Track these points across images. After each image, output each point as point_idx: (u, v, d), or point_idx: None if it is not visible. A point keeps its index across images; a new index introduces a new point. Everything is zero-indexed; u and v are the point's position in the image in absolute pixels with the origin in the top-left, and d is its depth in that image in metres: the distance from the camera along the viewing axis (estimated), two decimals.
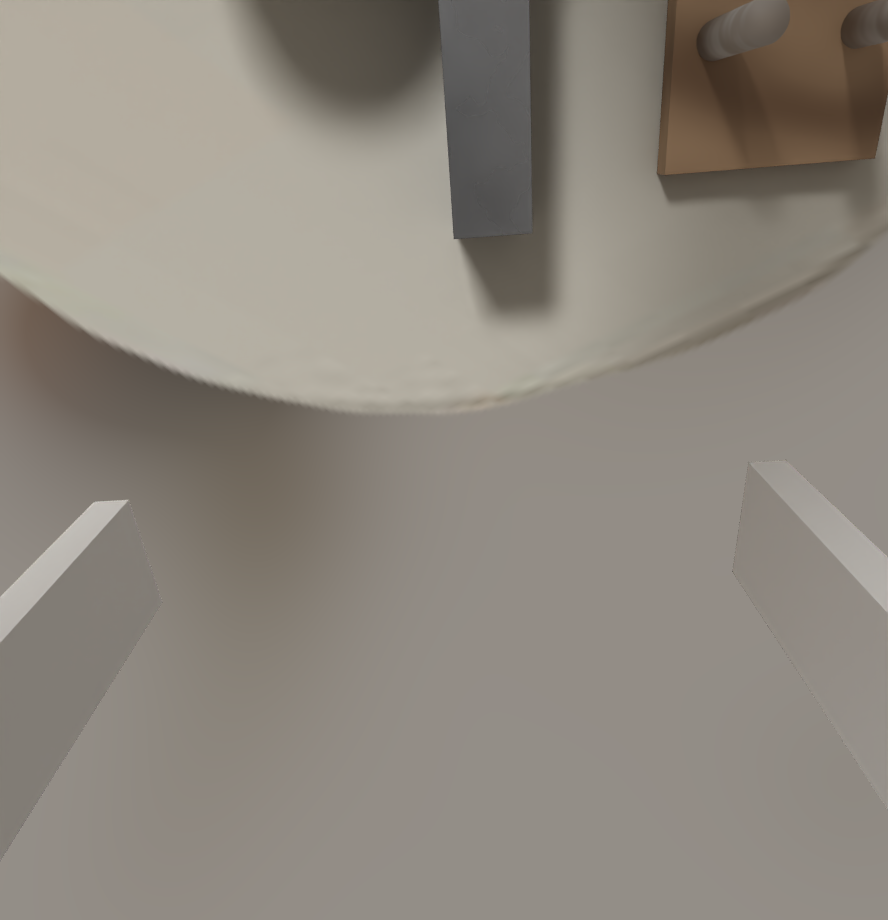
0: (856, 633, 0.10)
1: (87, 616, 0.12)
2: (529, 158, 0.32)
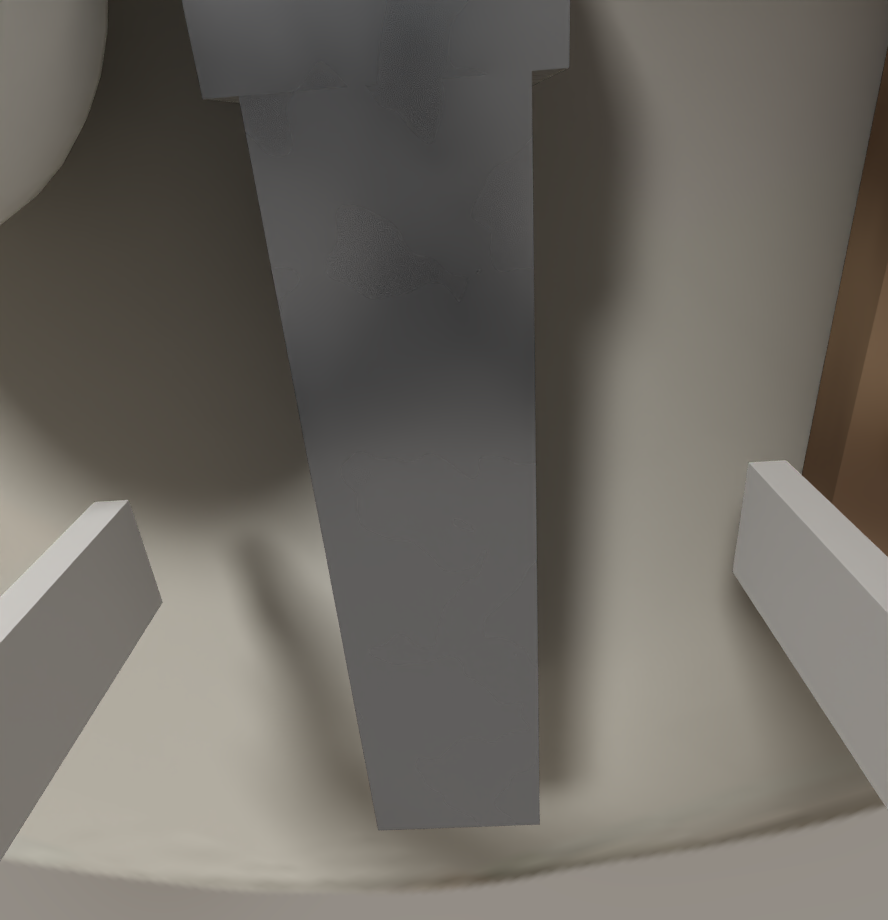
0: (856, 633, 0.10)
1: (87, 616, 0.12)
2: (534, 726, 0.14)
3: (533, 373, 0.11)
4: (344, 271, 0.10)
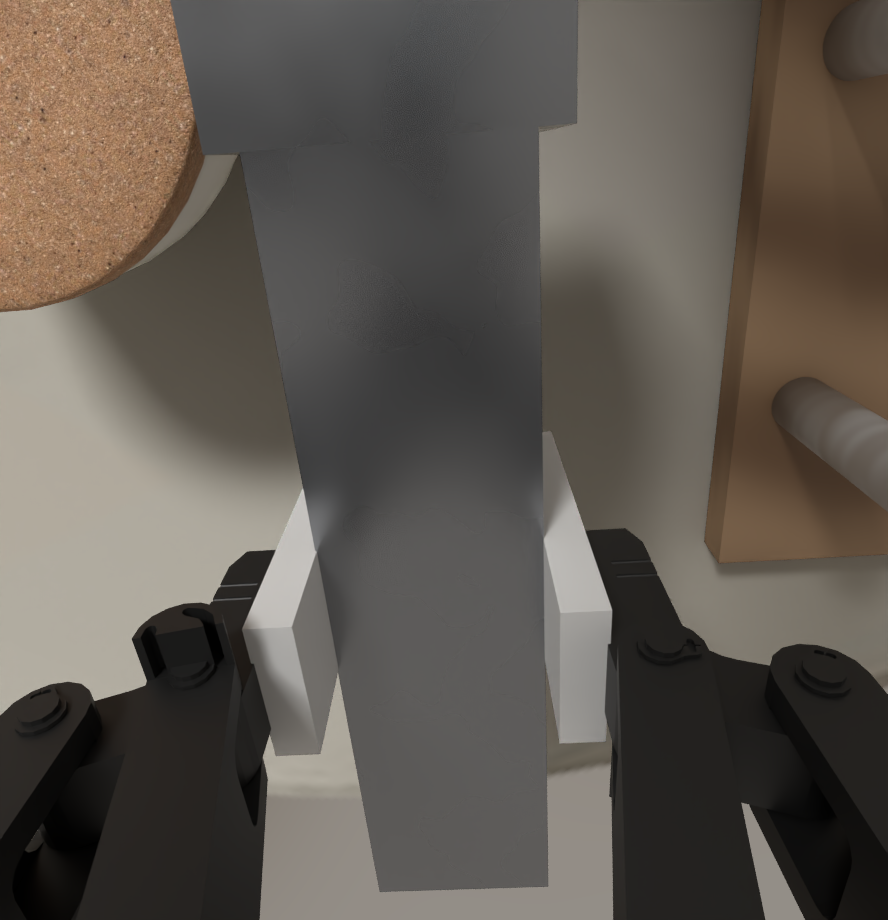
0: None
1: None
2: (542, 785, 0.14)
3: (540, 427, 0.10)
4: (346, 326, 0.10)
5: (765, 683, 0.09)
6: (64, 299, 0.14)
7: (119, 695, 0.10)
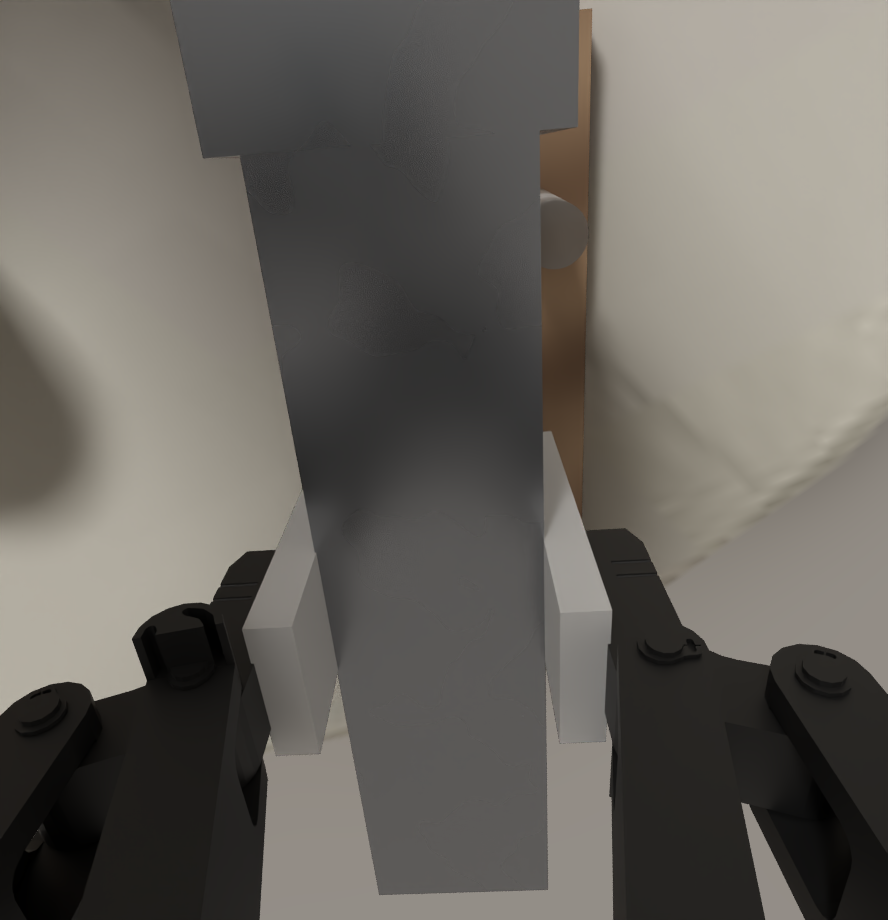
0: None
1: None
2: (542, 789, 0.14)
3: (541, 430, 0.10)
4: (346, 329, 0.10)
5: (765, 683, 0.09)
6: None
7: (119, 695, 0.10)
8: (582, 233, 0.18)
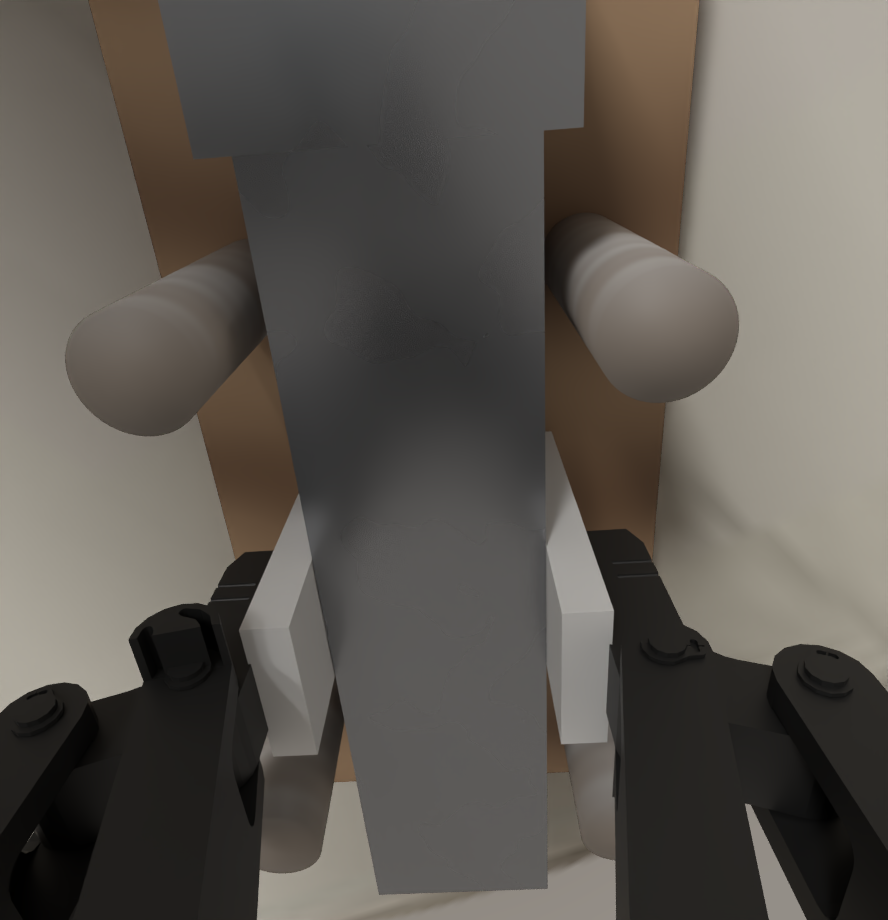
0: None
1: None
2: (542, 791, 0.14)
3: (543, 438, 0.10)
4: (343, 335, 0.09)
5: (767, 684, 0.09)
6: None
7: (116, 695, 0.10)
8: (724, 332, 0.08)
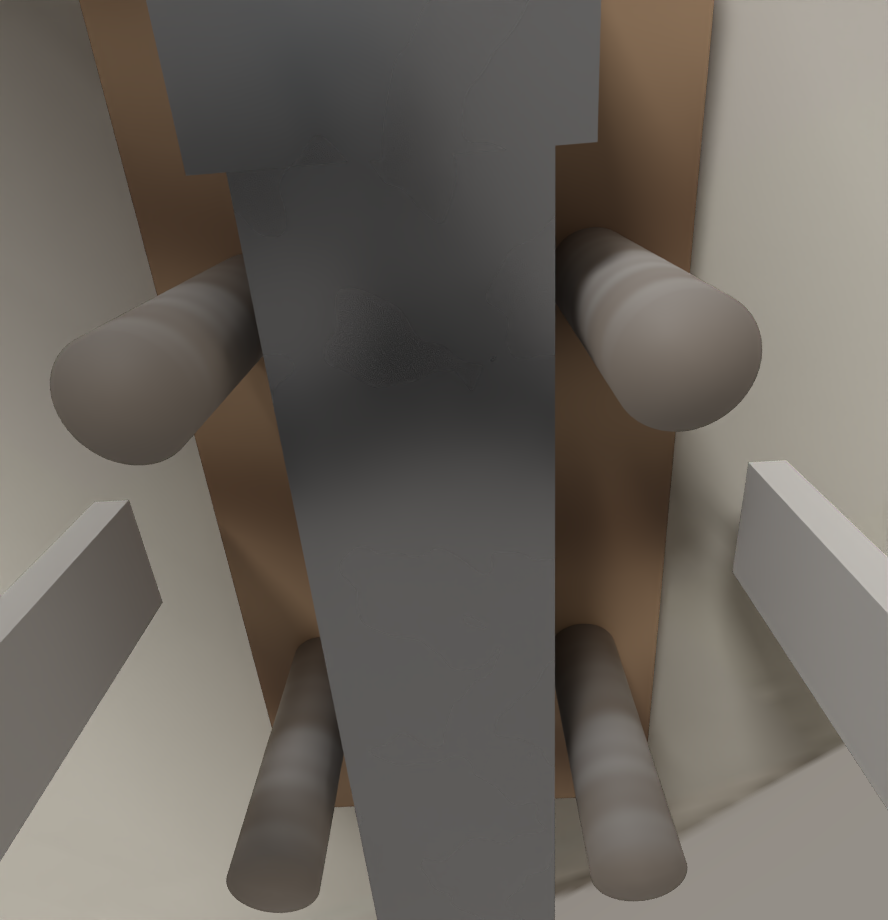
0: (856, 633, 0.10)
1: (87, 616, 0.12)
2: (550, 827, 0.13)
3: (553, 465, 0.10)
4: (343, 359, 0.09)
5: None
6: None
7: None
8: (746, 358, 0.08)
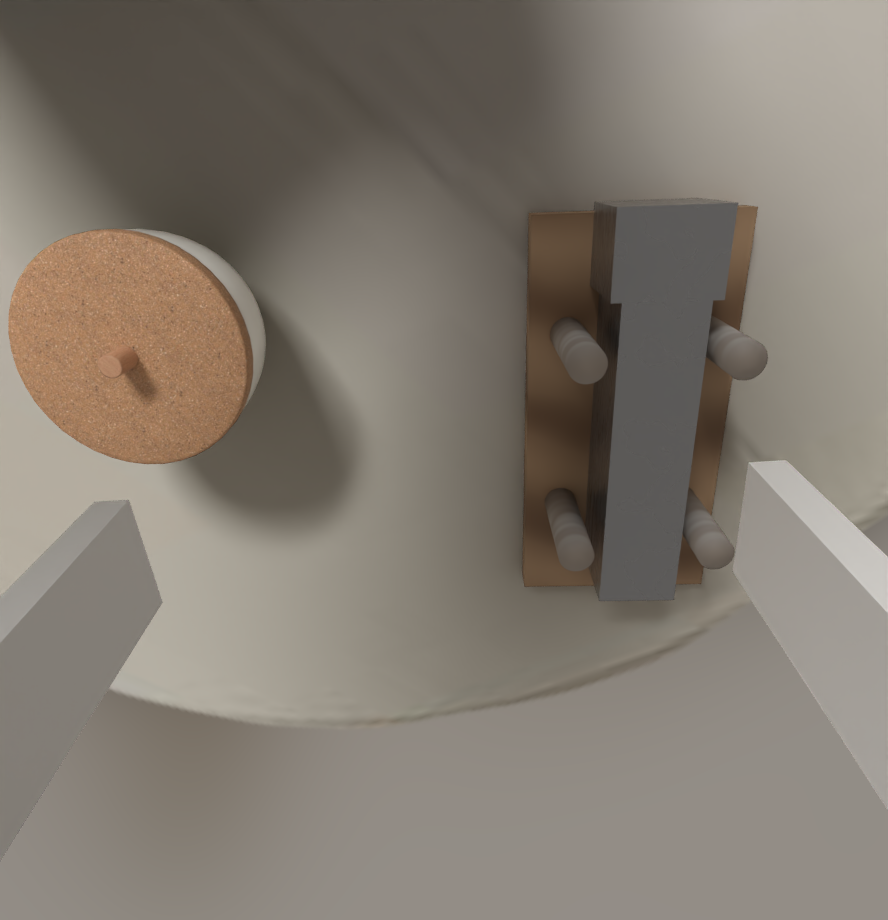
0: (856, 633, 0.10)
1: (87, 616, 0.12)
2: (679, 545, 0.34)
3: (700, 393, 0.30)
4: (641, 356, 0.30)
5: None
6: (180, 460, 0.31)
7: None
8: (763, 359, 0.29)
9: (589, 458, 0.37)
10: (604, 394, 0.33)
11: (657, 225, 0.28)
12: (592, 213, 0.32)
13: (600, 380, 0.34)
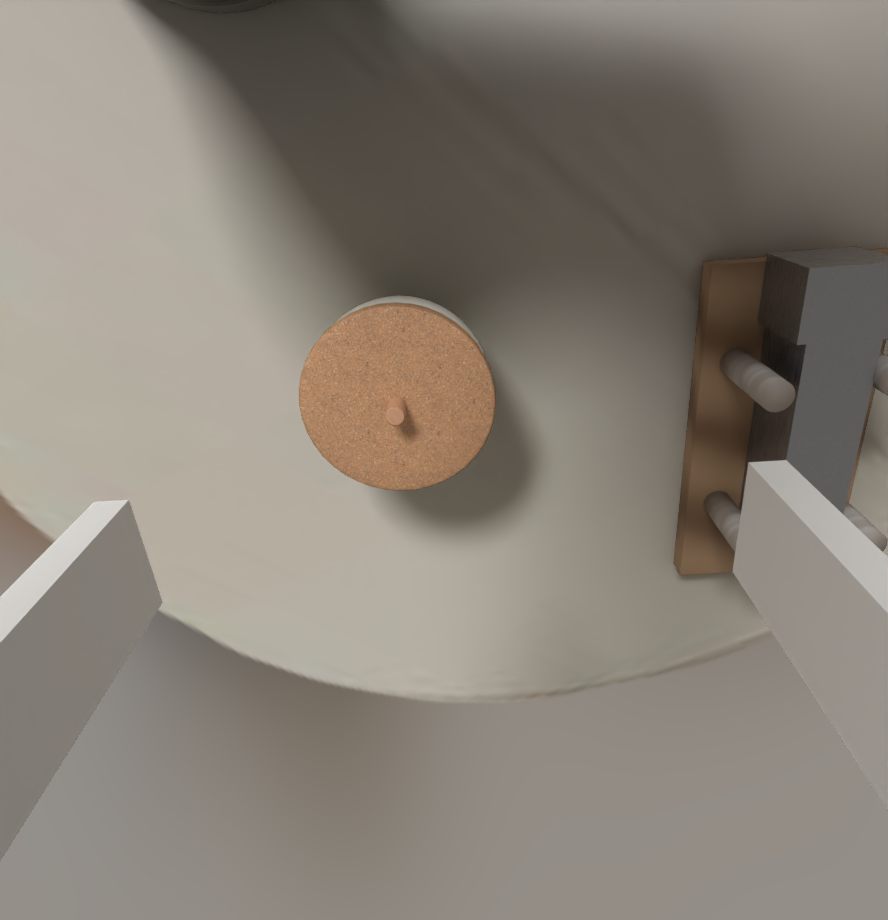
0: (856, 633, 0.10)
1: (87, 616, 0.12)
2: None
3: (865, 413, 0.36)
4: (819, 386, 0.36)
5: None
6: (428, 486, 0.38)
7: None
8: None
9: (745, 465, 0.43)
10: (774, 414, 0.39)
11: (842, 281, 0.33)
12: (764, 262, 0.38)
13: None
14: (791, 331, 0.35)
